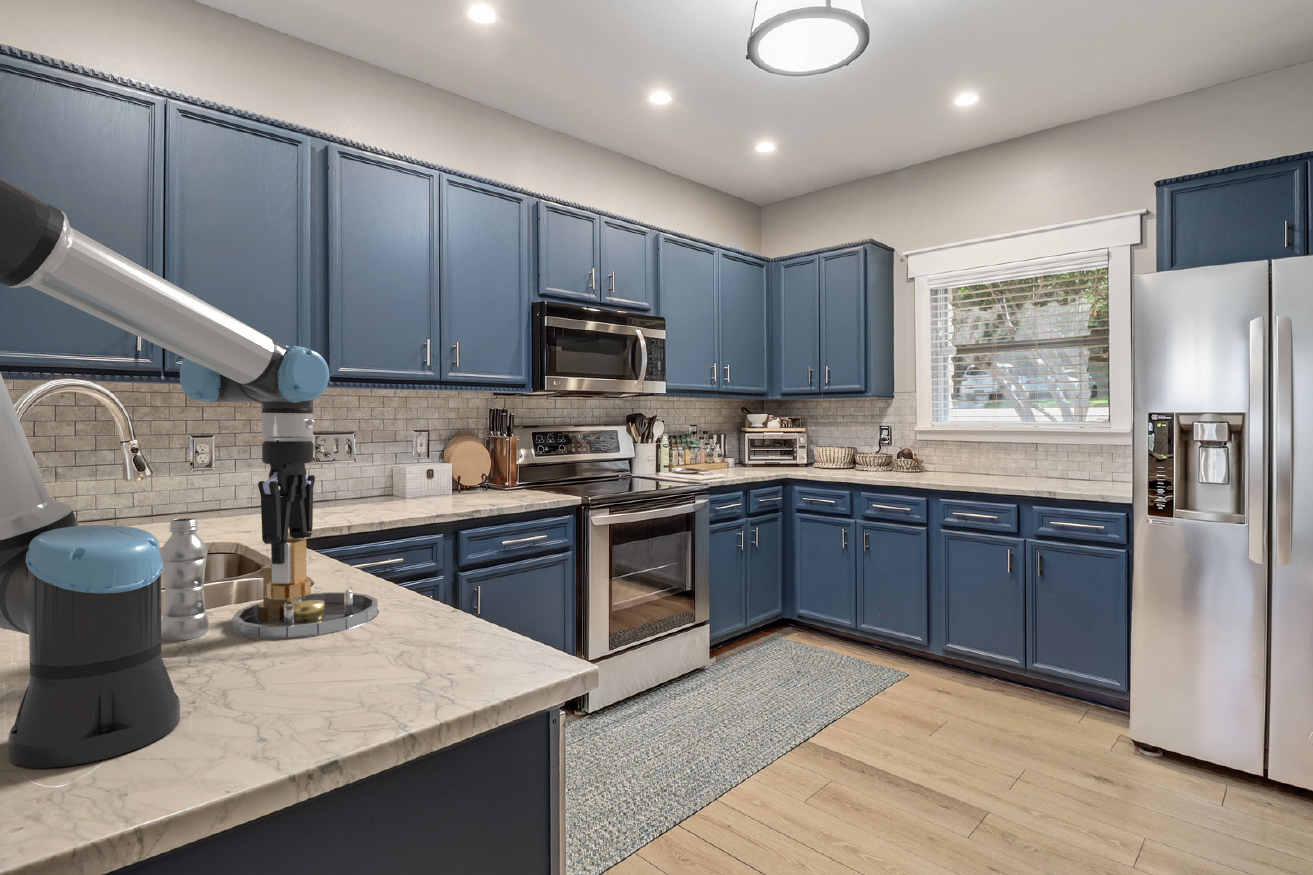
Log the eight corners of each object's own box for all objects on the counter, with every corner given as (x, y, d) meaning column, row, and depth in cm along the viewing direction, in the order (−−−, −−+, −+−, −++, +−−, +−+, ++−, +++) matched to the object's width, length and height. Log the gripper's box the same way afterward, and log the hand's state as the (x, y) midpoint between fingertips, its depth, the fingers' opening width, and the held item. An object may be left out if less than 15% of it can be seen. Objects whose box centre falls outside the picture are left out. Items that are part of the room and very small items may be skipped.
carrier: (344, 646, 110) (343, 610, 109) (200, 645, 110) (200, 608, 109) (398, 607, 133) (398, 577, 132) (279, 606, 133) (279, 576, 132)
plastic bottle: (169, 652, 106) (168, 523, 106) (154, 643, 111) (152, 519, 110) (215, 641, 112) (214, 519, 111) (199, 633, 116) (198, 515, 115)
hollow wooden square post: (298, 599, 111) (297, 544, 111) (260, 599, 111) (259, 544, 111) (316, 590, 118) (316, 538, 117) (280, 590, 118) (280, 537, 117)
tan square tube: (293, 618, 121) (292, 568, 120) (253, 621, 119) (253, 569, 119) (301, 609, 126) (301, 561, 126) (264, 611, 125) (264, 562, 125)
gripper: (282, 441, 105) (283, 592, 106) (334, 438, 122) (335, 569, 123) (234, 440, 105) (235, 592, 106) (292, 438, 122) (293, 568, 123)
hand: (288, 579), depth 114 cm, fingers closed on hollow wooden square post, 4 cm apart
